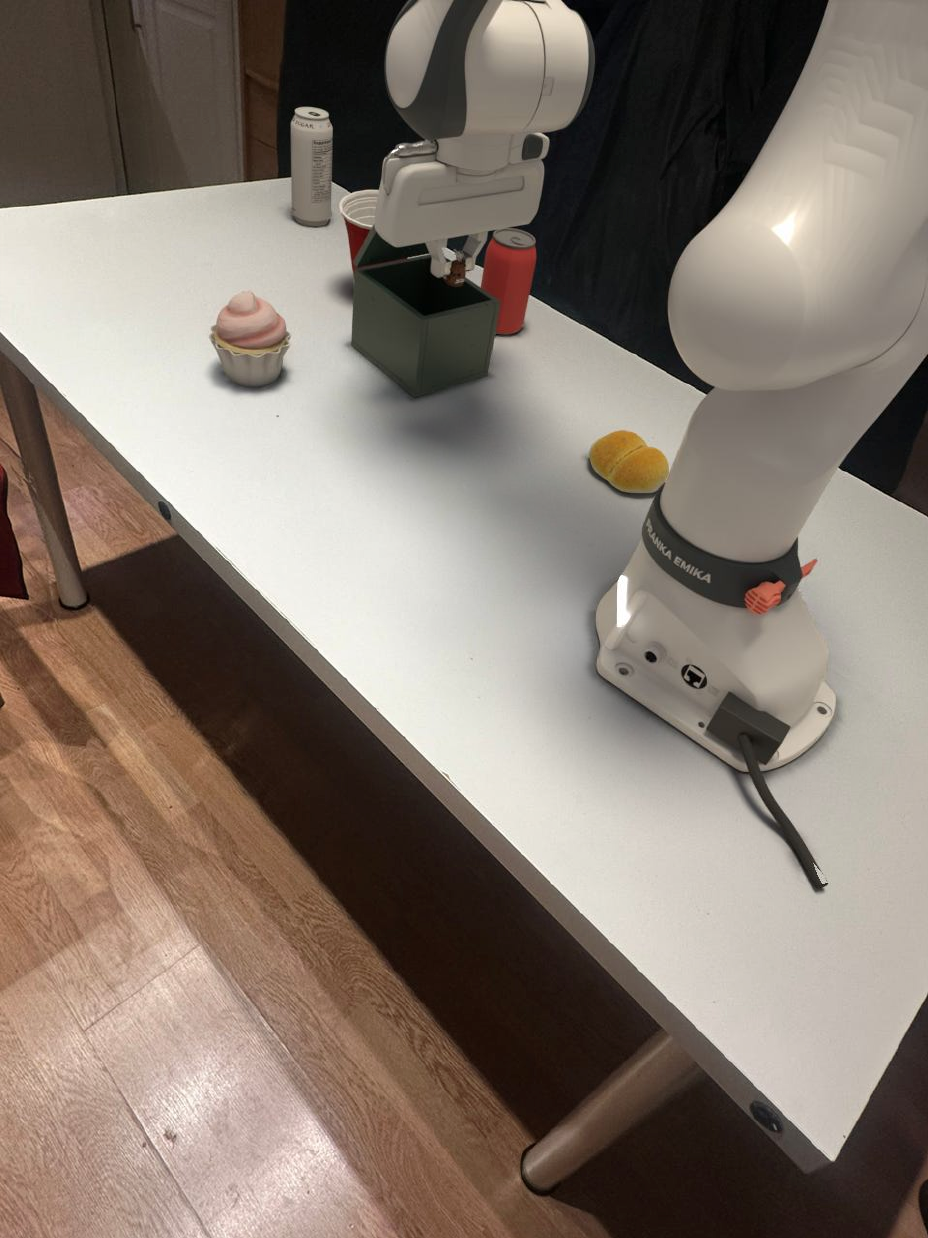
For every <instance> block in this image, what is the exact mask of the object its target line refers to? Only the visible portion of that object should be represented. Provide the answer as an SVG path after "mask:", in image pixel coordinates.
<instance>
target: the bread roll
mask: <svg viewBox="0 0 928 1238" xmlns="http://www.w3.org/2000/svg"><path fill="white" fill-rule="evenodd" d="M589 461H590V465H591V467H592V469H593V470H594V472H595V473H596V474H597V475H598V476H600V477H601V478H603V479H604V480H606V481H607V482H608V483H609V485H611V486H612V487H614V489H617V490H618V491H619V492H620V491H621V492H622V493H628V494H652V493H656V492H657V490H658V489H659V488H660V486H661V485H663V484H664V483H665V482H666V480H667V477H668V475H669V472H670V470H669V469H670V467H669V466H670V464H669V461H668V459H667V457H666V455H665V454H664V452H663V451H662V450H660V449H658V448H657V447H654V446H648V444H647V442H646V441H645V440H644V439H643V438H642V437H641V436H640V435H638V434H637V433H636V432H633V431H630V430H624V429H623V430H622V429H620V430H616V431H613V432H610V433H608V434H606V435H603V436H601V437H600V438H598V439H597V440H595V441H594V442H593V443H592V444H591V445H590V448H589Z"/></svg>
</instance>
